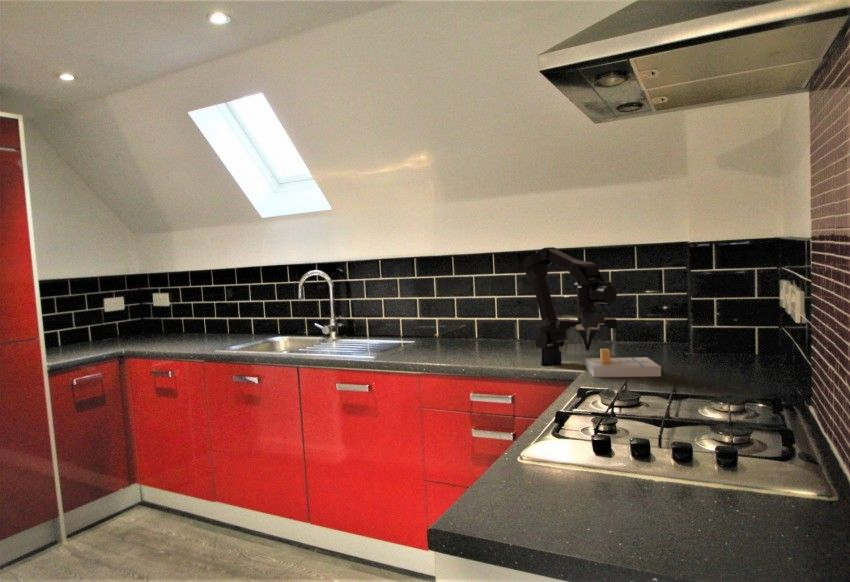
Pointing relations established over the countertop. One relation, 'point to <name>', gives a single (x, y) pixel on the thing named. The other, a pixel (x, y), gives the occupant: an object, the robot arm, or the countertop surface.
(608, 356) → the fader knob
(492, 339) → the countertop surface
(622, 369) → the console
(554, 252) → the robot arm
